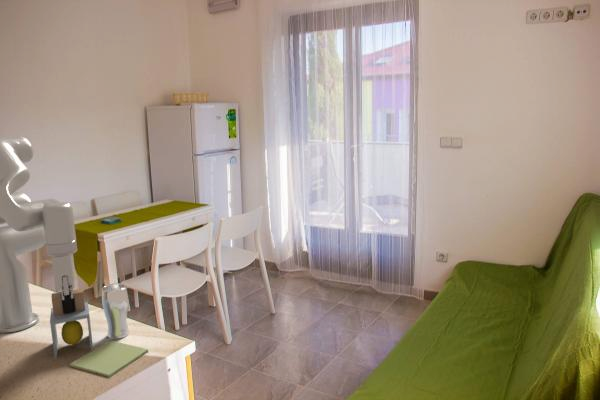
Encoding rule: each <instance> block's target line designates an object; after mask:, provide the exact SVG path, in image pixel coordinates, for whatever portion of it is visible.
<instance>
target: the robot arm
mask: <svg viewBox="0 0 600 400" xmlns="http://www.w3.org/2000/svg"><path fill="white" fill-rule="evenodd" d="M33 157H34V148H33V145H32V143H31V142H30V140H28V139H27V138H26V137H25V136H23V135H3V136H0V225H3V224H7V225H4V226H1V227H0V333H5V334H7V333H14V332H19V331H22V330H23V331H24V330H25V329H29V328H31V327H32V326H34V325H36V324H37V323H39V320H40V317H39V315H38V314H37V313H35V312H33V307H32V300H31V293H30V286H29V279H28V271H27V268H26V266H25V264H24V263H23V262H22V261H20V260H19V259H18V258H17V257H18V256H19V255H23V254H26V253H30V252H34V251H37V250H39V249H41V248H43V247H44V246H45V247H46V255H47V256H48V257H51V265H52V275H53V283H54V284H53V285H54V290H55V293H59V291H60V292H61V293H62V307H63V313H64V314H66V313H71V312H75V311H76V307H75V299H74V298H73V291H72V290H74V289H75V283H76V282H75V281H76V280H75V279H76V269H75V261H74V260H75V259H74V258H75V257H74V254H75V253H76V252H78V245H77V235H76V228H75V227H76V226H75V225H76V224H75V220H74V212H73V211H74V210H73V206H72V204H71V203H69V202H67V201H60V200H57V199H55V198H45V199H44V198H43V199H40V200H33V201H32V200H31V198H30V197H29V195H27V194H26V193H24V192H22V191H19V190H20V189H21V188H23V186H25V185H26V184H27V183H28V182H29V180H30V177H31V172H30V170H29V168H28V167H27V166H26V165H25V163H29V162H31V160H32V159H33ZM69 291H70V292H71V293H70V292H69Z"/></svg>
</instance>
